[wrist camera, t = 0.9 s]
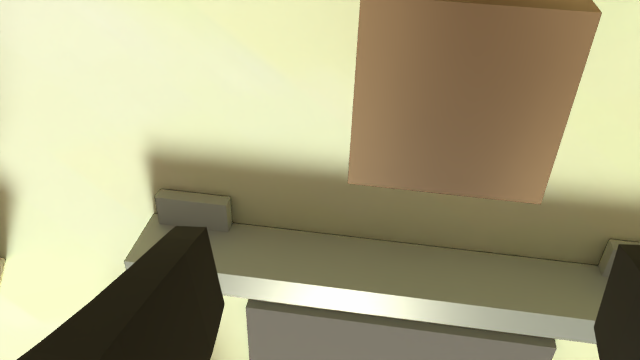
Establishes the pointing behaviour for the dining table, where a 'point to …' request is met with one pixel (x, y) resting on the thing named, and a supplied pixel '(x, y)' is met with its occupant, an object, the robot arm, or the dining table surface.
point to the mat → (375, 337)
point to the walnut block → (466, 93)
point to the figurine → (1, 268)
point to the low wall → (389, 274)
